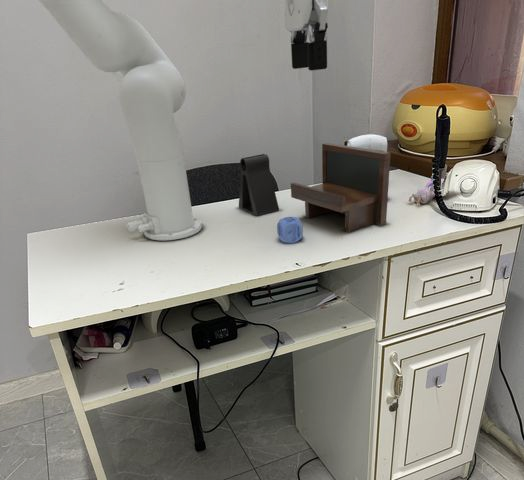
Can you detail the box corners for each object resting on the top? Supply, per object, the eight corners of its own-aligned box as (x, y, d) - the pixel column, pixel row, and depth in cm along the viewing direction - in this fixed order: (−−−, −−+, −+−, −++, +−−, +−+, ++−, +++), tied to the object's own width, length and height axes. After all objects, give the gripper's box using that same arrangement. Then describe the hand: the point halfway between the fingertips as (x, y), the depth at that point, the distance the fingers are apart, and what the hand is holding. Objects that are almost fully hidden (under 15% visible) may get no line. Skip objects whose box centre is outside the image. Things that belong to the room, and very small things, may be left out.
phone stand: (279, 210, 114) (275, 156, 107) (256, 216, 112) (252, 161, 105) (259, 202, 121) (255, 151, 114) (238, 207, 118) (233, 155, 112)
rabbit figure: (424, 213, 108) (470, 189, 113) (423, 187, 105) (472, 163, 109) (403, 207, 113) (449, 184, 117) (402, 182, 109) (449, 159, 114)
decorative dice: (284, 244, 95) (283, 224, 93) (277, 238, 98) (276, 218, 96) (303, 241, 96) (302, 221, 94) (296, 234, 99) (295, 215, 97)
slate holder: (344, 238, 96) (346, 163, 88) (288, 218, 109) (285, 151, 101) (386, 224, 101) (390, 152, 93) (327, 206, 114) (327, 142, 106)
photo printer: (381, 182, 128) (384, 131, 121) (387, 186, 124) (390, 134, 118) (343, 186, 127) (344, 135, 120) (348, 190, 123) (349, 138, 117)
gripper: (269, -44, 84) (276, 69, 93) (298, -64, 70) (303, 72, 79) (310, -47, 85) (313, 65, 94) (347, -67, 71) (346, 67, 80)
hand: (308, 68), depth 87 cm, fingers open, 9 cm apart
